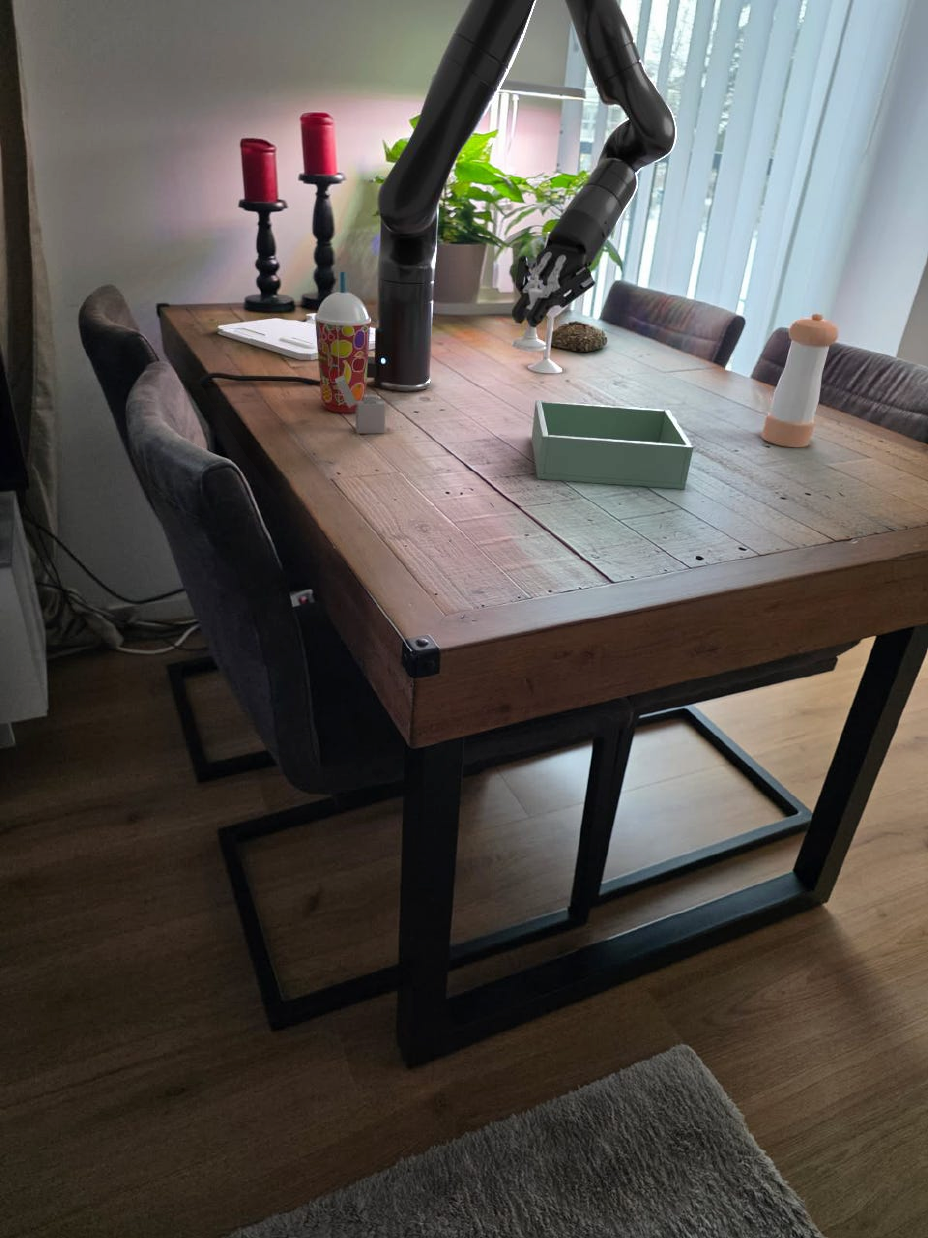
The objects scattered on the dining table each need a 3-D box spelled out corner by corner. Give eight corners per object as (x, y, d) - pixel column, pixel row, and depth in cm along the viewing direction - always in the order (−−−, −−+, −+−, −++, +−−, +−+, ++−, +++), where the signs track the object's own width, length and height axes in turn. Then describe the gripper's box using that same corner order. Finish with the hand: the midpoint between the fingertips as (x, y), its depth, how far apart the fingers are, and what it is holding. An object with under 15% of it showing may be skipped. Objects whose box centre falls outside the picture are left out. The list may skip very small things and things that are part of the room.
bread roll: (613, 346, 187) (617, 322, 184) (589, 355, 177) (593, 330, 175) (561, 336, 192) (564, 313, 190) (535, 344, 183) (538, 320, 180)
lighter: (383, 429, 126) (384, 374, 122) (385, 433, 125) (386, 378, 121) (335, 429, 124) (334, 374, 120) (336, 433, 123) (336, 378, 119)
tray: (213, 332, 172) (212, 324, 171) (318, 317, 191) (318, 310, 191) (304, 361, 157) (304, 352, 156) (409, 342, 176) (409, 334, 176)
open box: (537, 478, 112) (542, 436, 110) (531, 438, 127) (535, 400, 124) (684, 489, 113) (693, 447, 110) (662, 448, 127) (669, 410, 124)
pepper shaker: (785, 449, 131) (819, 319, 121) (751, 434, 136) (781, 309, 127) (818, 445, 134) (855, 318, 124) (784, 430, 139) (816, 308, 130)
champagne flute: (523, 369, 163) (536, 232, 151) (533, 362, 168) (547, 230, 156) (556, 375, 161) (573, 237, 149) (566, 367, 166) (583, 234, 154)
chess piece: (543, 352, 124) (552, 279, 119) (510, 348, 125) (517, 276, 120) (547, 345, 129) (555, 275, 124) (515, 341, 129) (522, 271, 124)
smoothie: (318, 399, 137) (315, 266, 127) (370, 401, 138) (371, 269, 128) (314, 414, 130) (311, 274, 120) (369, 416, 131) (371, 278, 121)
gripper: (539, 201, 126) (477, 295, 124) (616, 213, 118) (551, 313, 116) (556, 239, 132) (497, 329, 130) (631, 252, 124) (569, 348, 123)
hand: (523, 321), depth 123 cm, fingers closed on chess piece
